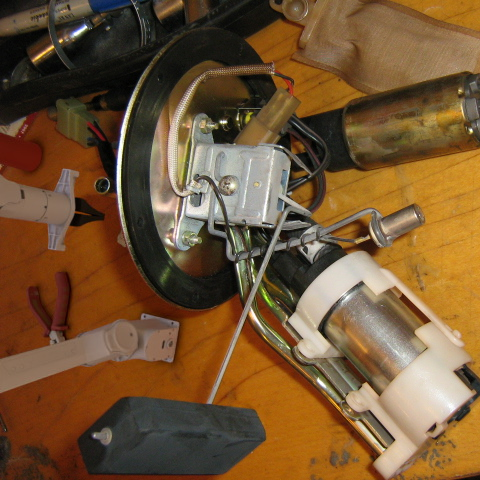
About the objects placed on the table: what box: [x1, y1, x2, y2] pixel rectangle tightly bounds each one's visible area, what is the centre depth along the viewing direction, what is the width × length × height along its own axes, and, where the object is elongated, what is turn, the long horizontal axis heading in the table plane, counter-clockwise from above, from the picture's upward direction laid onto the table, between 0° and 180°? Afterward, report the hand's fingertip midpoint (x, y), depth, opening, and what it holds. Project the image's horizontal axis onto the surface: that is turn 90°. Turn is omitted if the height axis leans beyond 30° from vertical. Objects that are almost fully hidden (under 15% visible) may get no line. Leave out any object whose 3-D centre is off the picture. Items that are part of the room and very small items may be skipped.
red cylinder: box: [0, 132, 43, 172], centre depth 106 cm, size 7×7×11 cm
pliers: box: [25, 271, 70, 345], centre depth 101 cm, size 12×20×3 cm, turn 20°
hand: (101, 216), depth 90 cm, fingers closed
